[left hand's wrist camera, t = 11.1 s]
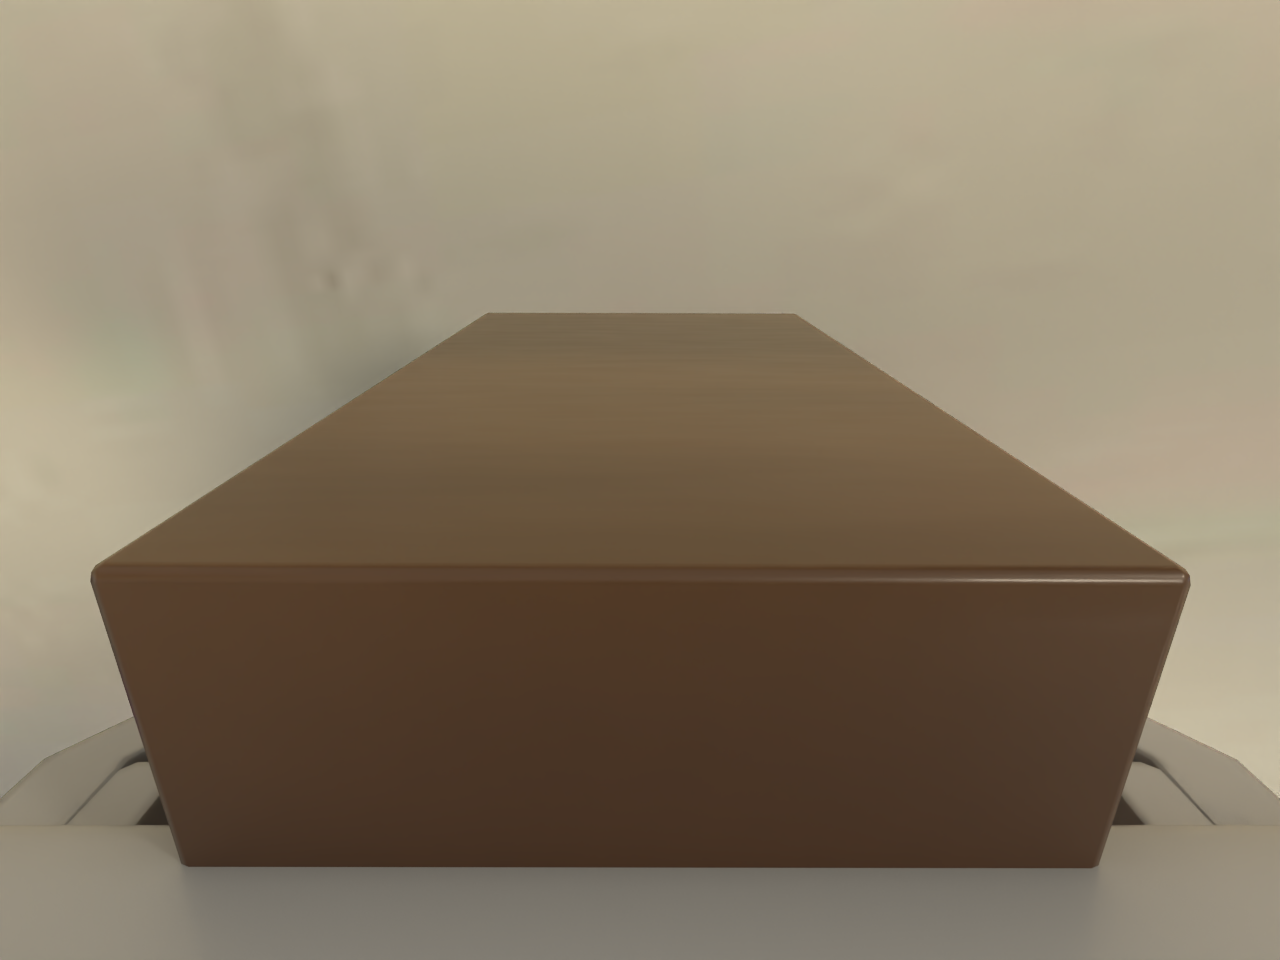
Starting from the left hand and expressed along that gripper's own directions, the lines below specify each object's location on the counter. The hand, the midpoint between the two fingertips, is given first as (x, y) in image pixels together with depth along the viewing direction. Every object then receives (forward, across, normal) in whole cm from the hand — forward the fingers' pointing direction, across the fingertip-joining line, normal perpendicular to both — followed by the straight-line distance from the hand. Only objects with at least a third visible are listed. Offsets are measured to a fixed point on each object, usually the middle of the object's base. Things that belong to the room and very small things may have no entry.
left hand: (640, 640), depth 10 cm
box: (+5, 0, -10) cm, 11 cm away
